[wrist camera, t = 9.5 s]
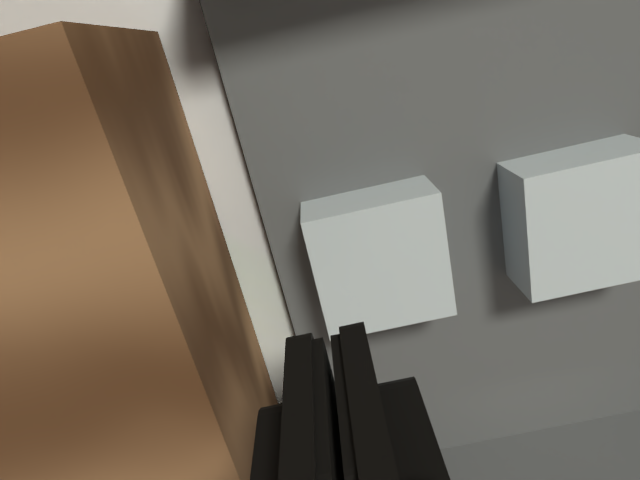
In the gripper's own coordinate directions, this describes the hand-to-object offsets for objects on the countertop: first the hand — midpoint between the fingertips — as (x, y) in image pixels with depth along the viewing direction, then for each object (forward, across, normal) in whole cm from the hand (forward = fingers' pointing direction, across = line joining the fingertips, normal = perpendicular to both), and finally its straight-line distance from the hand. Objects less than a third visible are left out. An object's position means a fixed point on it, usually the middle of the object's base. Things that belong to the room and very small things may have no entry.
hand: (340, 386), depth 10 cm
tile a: (+4, -8, 0) cm, 9 cm away
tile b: (+4, -2, 0) cm, 5 cm away
